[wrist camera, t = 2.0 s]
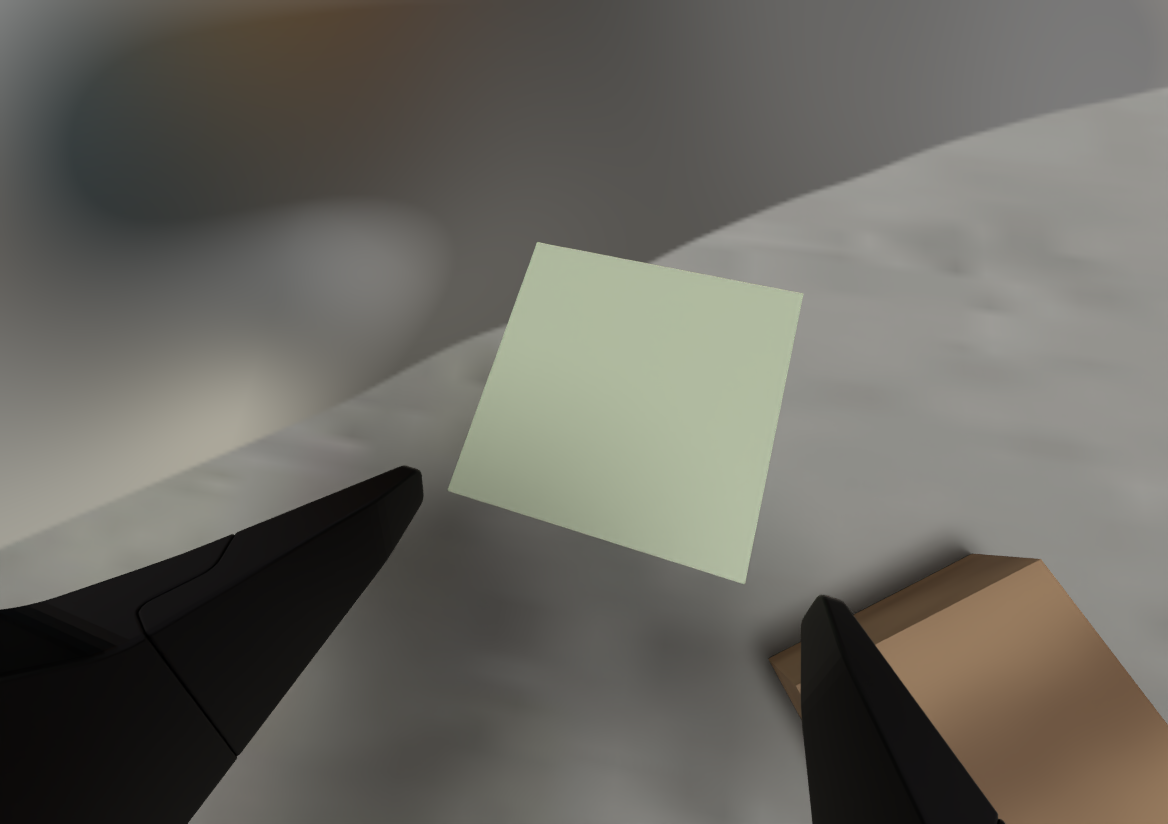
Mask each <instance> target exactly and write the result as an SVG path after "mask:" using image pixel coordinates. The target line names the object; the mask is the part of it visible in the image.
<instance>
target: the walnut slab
mask: <svg viewBox="0 0 1168 824" xmlns="http://www.w3.org/2000/svg"><path fill="white" fill-rule="evenodd" d="M854 616H855V618H856V619H857V620H858V622H859V623H860V625H861V626H862V627H863V629H864V630H865V631H866V633H867V634H868V636H869V637H870V638H871V640H872V641H873V642H874V644H875V645H876V647H877V648H878V649H879V651H880V652H881V653H882V655H883V656H884V658H885V659H886V660H887V662H888V663H889V664H890V666H891V667H892V669H893V670H894V671H895V673H896V674H897V675H898V677H899V678H900V680H901V681H902V682H903V684H904V685H905V686H906V688H907V689H908V691H909V692H910V693H911V695H912V696H913V697H914V699H915V700H916V702H917V703H918V704H919V706H920V707H921V708H922V710H923V711H924V712H925V714H926V715H927V717H928V718H929V719H930V721H931V722H932V723H933V725H934V726H935V728H936V729H937V730H938V732H939V733H940V734H941V736H942V737H943V739H944V740H945V741H946V743H947V744H948V745H949V747H950V748H951V750H952V751H953V752H954V754H955V755H956V756H957V758H958V759H959V761H960V762H961V763H962V765H963V766H964V767H965V769H966V770H967V772H968V773H969V774H970V776H971V777H972V778H973V780H974V781H975V783H976V784H977V785H978V787H979V788H980V789H981V791H982V792H983V794H984V795H985V796H986V798H987V799H988V800H989V802H990V803H991V804H992V806H993V807H994V809H995V810H996V811H997V813H998V819H1002V820H1003V821H1004V822H1005V823H1006V824H1168V725H1167V723H1166V722H1165V721H1164V719H1163V718H1162V717H1161V715H1160V714H1159V713H1158V712H1157V710H1156V709H1155V708H1154V706H1153V705H1152V704H1151V702H1150V701H1149V700H1148V698H1147V697H1146V696H1145V695H1144V693H1143V692H1142V691H1141V689H1140V688H1139V687H1138V685H1137V684H1136V683H1135V682H1134V680H1133V679H1132V678H1131V676H1130V675H1129V674H1128V672H1127V671H1126V670H1125V668H1124V667H1123V666H1122V665H1121V663H1120V662H1119V661H1118V659H1117V658H1116V657H1115V655H1114V654H1113V653H1112V651H1111V650H1110V649H1109V648H1108V646H1107V645H1106V644H1105V642H1104V641H1103V640H1102V638H1101V637H1100V636H1099V634H1098V633H1097V632H1096V631H1095V629H1094V628H1093V627H1092V625H1091V624H1090V623H1089V621H1088V620H1087V619H1086V617H1085V616H1084V615H1083V614H1082V612H1081V611H1080V610H1079V608H1078V607H1077V606H1076V604H1075V603H1074V602H1073V600H1072V599H1071V598H1070V597H1069V595H1068V594H1067V593H1066V591H1065V590H1064V589H1063V587H1062V586H1061V585H1060V583H1059V582H1058V581H1057V580H1056V578H1055V577H1054V576H1053V574H1052V573H1051V572H1050V570H1049V569H1048V568H1047V566H1046V565H1045V564H1044V563H1043V561H1042V560H1041V559H1033V558H1020V557H1008V556H995V555H982V554H971V555H969V556H967V557H965V558H963V559H961V560H959V561H957V562H955V563H953V564H951V565H949V566H947V567H945V568H943V569H941V570H940V571H938V572H936V573H934V574H932V575H930V576H928V577H926V578H924V579H922V580H920V581H918V582H916V583H914V584H912V585H910V586H908V587H906V588H905V589H903V590H901V591H899V592H897V593H895V594H893V595H891V596H889V597H887V598H885V599H883V600H881V601H879V602H877V603H875V604H873V605H872V606H870V607H868V608H866V609H864V610H862V611H860V612H858V613H856V614H854ZM769 661H770V663H771V665H772V666H773V668H774V670H775V672H776V674H777V676H778V677H779V679H780V681H781V683H782V685H783V687H784V688H785V690H786V692H787V694H788V696H789V698H790V699H791V701H792V703H793V705H794V707H795V709H796V710H797V712H798V714H799V716H800V718H801V720H802V716H801V694H800V691H801V642H800V643H798V644H796V645H794V646H792V647H790V648H788V649H786V650H784V651H782V652H780V653H778V654H776V655H774V656H772V657H771V658H769Z"/></svg>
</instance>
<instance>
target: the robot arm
mask: <svg viewBox="0 0 1168 824" xmlns="http://www.w3.org/2000/svg"><path fill="white" fill-rule="evenodd" d="M422 501H423V485H422V475H421V472H420V471H419V470H418V469H415V468H412V467H409V466H400V467H397V468H395V469H393V470H390V471H388V472H385V473H383V474H380V475H378V476H375V477H373V478H370V479H368V480H365V481H363V482H360V483H358V484H355V485H353V486H350V487H348V488H345V489H343V490H341V491H338V492H336V493H333V494H331V495H328V496H326V497H323V498H321V499H318V500H316V501H313V502H311V503H308V504H306V505H303V506H301V507H298V508H296V509H293V510H291V511H289V512H286V513H284V514H281V515H279V516H276V517H274V518H271V519H269V520H266V521H264V522H261V523H259V524H256V525H254V526H251V527H249V528H246V529H244V530H241V531H239V532H237V533H236V534H235V535H234V534H231V535H229V536H226V537H224V538H221V539H219V540H216V541H214V542H211V543H209V544H206V545H204V546H201V547H199V548H196V549H193V550H191V551H188V552H186V553H183V554H180V555H178V556H175V557H172V558H169V559H166V560H164V561H161V562H158V563H155V564H152V565H150V566H147V567H144V568H141V569H138V570H135V571H132V572H129V573H126V574H123V575H120V576H117V577H115V578H112V579H109V580H106V581H103V582H100V583H97V584H94V585H91V586H88V587H85V588H82V589H79V590H76V591H73V592H70V593H68V594H65V595H62V596H59V597H55V598H52V599H49V600H46V601H42V602H38V603H34V604H30V605H26V606H21V607H15V608H9V609H1V610H0V824H188V822H189V821H190V820H191V818H192V817H193V816H194V814H195V813H196V812H197V811H198V809H199V808H200V807H201V805H202V804H203V803H204V801H205V800H206V799H207V797H208V796H209V795H210V793H211V792H212V791H213V789H214V788H215V787H216V786H217V784H218V783H219V782H220V780H221V779H222V778H223V776H224V775H225V774H226V772H227V771H228V770H229V768H230V767H231V766H232V764H233V763H234V762H235V760H236V759H237V756H238V755H240V753H241V752H242V751H243V749H244V748H245V747H246V745H247V744H248V743H249V742H250V740H251V739H252V738H253V736H254V735H255V734H256V732H257V731H258V730H259V728H260V727H261V726H262V724H263V723H264V722H265V720H266V719H267V718H268V716H269V715H270V714H271V713H272V711H273V710H274V709H275V707H276V706H277V705H278V703H279V702H280V701H281V699H282V698H283V697H284V695H285V694H286V693H287V691H288V690H289V689H290V687H291V686H292V685H293V684H294V682H295V681H296V680H297V678H298V677H299V676H300V674H301V673H302V672H303V670H304V669H305V668H306V666H307V665H308V664H309V662H310V661H311V660H312V658H313V657H314V656H315V654H316V653H317V652H318V651H319V649H320V648H321V647H322V645H323V644H324V643H325V641H326V640H327V639H328V637H329V636H330V635H331V633H332V632H333V631H334V629H335V628H336V627H337V625H338V624H339V623H340V622H341V620H342V619H343V618H344V616H345V615H346V614H347V612H348V611H349V610H350V608H351V607H352V606H353V604H354V603H355V602H356V600H357V599H358V598H359V596H360V595H361V594H362V593H363V591H364V590H365V589H366V587H367V586H368V585H369V583H370V582H371V581H372V579H373V578H374V577H375V575H376V574H377V573H378V571H379V570H380V569H381V567H382V566H383V565H384V563H385V562H386V561H387V559H388V558H389V556H390V555H391V553H392V551H393V550H394V548H395V547H396V545H397V543H398V542H399V540H400V538H401V537H402V535H403V533H404V532H405V530H406V528H407V527H408V525H409V524H410V522H411V520H412V519H413V517H414V515H415V514H416V512H417V510H418V509H419V507H420V505H421V503H422ZM800 694H801V716H802V727H803V736H804V746H805V756H806V765H807V775H808V785H809V794H810V804H811V813H812V823H813V824H1006V823H1005V822H1004V821H1003V820H1002V819H998V813H997V811H996V810H995V809H994V807H993V806H992V804H991V803H990V802H989V800H988V799H987V798H986V796H985V795H984V794H983V792H982V791H981V789H980V788H979V787H978V785H977V784H976V783H975V781H974V780H973V778H972V777H971V776H970V774H969V773H968V772H967V770H966V769H965V767H964V766H963V765H962V763H961V762H960V761H959V759H958V758H957V756H956V755H955V754H954V752H953V751H952V750H951V748H950V747H949V745H948V744H947V743H946V741H945V740H944V739H943V737H942V736H941V734H940V733H939V732H938V730H937V729H936V728H935V726H934V725H933V723H932V722H931V721H930V719H929V718H928V717H927V715H926V714H925V712H924V711H923V710H922V708H921V707H920V706H919V704H918V703H917V702H916V700H915V699H914V697H913V696H912V695H911V693H910V692H909V691H908V689H907V688H906V686H905V685H904V684H903V682H902V681H901V680H900V678H899V677H898V675H897V674H896V673H895V671H894V670H893V669H892V667H891V666H890V664H889V663H888V662H887V660H886V659H885V658H884V656H883V655H882V653H881V652H880V651H879V649H878V648H877V647H876V645H875V644H874V642H873V641H872V640H871V638H870V637H869V636H868V634H867V633H866V631H865V630H864V629H863V627H862V626H861V625H860V623H859V622H858V620H857V619H856V618H855V616H854V615H853V614H852V612H851V611H850V610H849V608H848V607H847V605H846V604H845V603H844V602H843V601H841V600H839V599H836V598H833V597H829V596H826V595H819V596H818V597H817V598H816V599H815V601H814V602H813V604H812V605H811V607H810V608H809V610H808V611H807V613H806V614H805V616H804V618H803V620H802V624H801V691H800Z"/></svg>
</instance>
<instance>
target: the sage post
mask: <svg viewBox="0 0 1168 824" xmlns="http://www.w3.org/2000/svg"><path fill="white" fill-rule="evenodd" d="M802 298H803V293H797V292H792V291H787V290H782V289H777V288H771V287H766V286H761V285H756V284H751V283H746V282H740V281H735V280H730V279H725V278H720V277H715V276H709V275H704V274H699V273H694V272H689V271H684V270H678V269H673V268H668V267H663V266H658V265H652V264H647V263H642V262H637V261H631V260H627V259H621V258H616V257H611V256H606V255H601V254H596V253H590V252H585V251H580V250H574V249H570V248H564V247H559V246H554V245H549V244H544V243H539V242H537V245H536V247H535V250H534V253H533V256H532V258H531V261H530V264H529V267H528V270H527V272H526V275H525V278H524V281H523V283H522V286H521V289H520V292H519V295H518V297H517V300H516V303H515V305H514V308H513V311H512V314H511V316H510V319H509V322H508V325H507V327H506V330H505V333H504V336H503V338H502V341H501V344H500V347H499V350H498V352H497V355H496V358H495V361H494V363H493V366H492V369H491V372H490V374H489V377H488V380H487V383H486V385H485V388H484V391H483V394H482V396H481V399H480V402H479V405H478V407H477V410H476V413H475V416H474V418H473V421H472V424H471V427H470V430H469V432H468V435H467V438H466V441H465V443H464V446H463V449H462V452H461V454H460V457H459V460H458V463H457V465H456V468H455V471H454V474H453V476H452V479H451V482H450V485H449V487H448V490H447V491H450V492H453V493H456V494H459V495H462V496H466V497H469V498H472V499H475V500H478V501H482V502H485V503H488V504H491V505H494V506H497V507H501V508H504V509H507V510H510V511H513V512H517V513H520V514H523V515H526V516H529V517H532V518H536V519H539V520H542V521H545V522H548V523H552V524H555V525H558V526H561V527H564V528H567V529H571V530H574V531H577V532H580V533H583V534H586V535H590V536H593V537H596V538H599V539H602V540H606V541H609V542H612V543H615V544H618V545H621V546H625V547H628V548H631V549H634V550H637V551H641V552H644V553H647V554H650V555H653V556H656V557H660V558H663V559H666V560H669V561H672V562H676V563H679V564H682V565H685V566H688V567H691V568H695V569H698V570H701V571H704V572H707V573H711V574H714V575H717V576H720V577H723V578H726V579H730V580H733V581H736V582H739V583H742V584H745V581H746V576H747V571H748V566H749V561H750V556H751V551H752V546H753V541H754V536H755V531H756V526H757V521H758V516H759V511H760V506H761V501H762V496H763V491H764V486H765V481H766V476H767V472H768V467H769V462H770V457H771V452H772V447H773V442H774V437H775V432H776V427H777V422H778V417H779V412H780V407H781V402H782V397H783V392H784V387H785V382H786V377H787V372H788V367H789V362H790V357H791V352H792V347H793V342H794V338H795V333H796V328H797V323H798V318H799V313H800V308H801V303H802Z"/></svg>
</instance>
